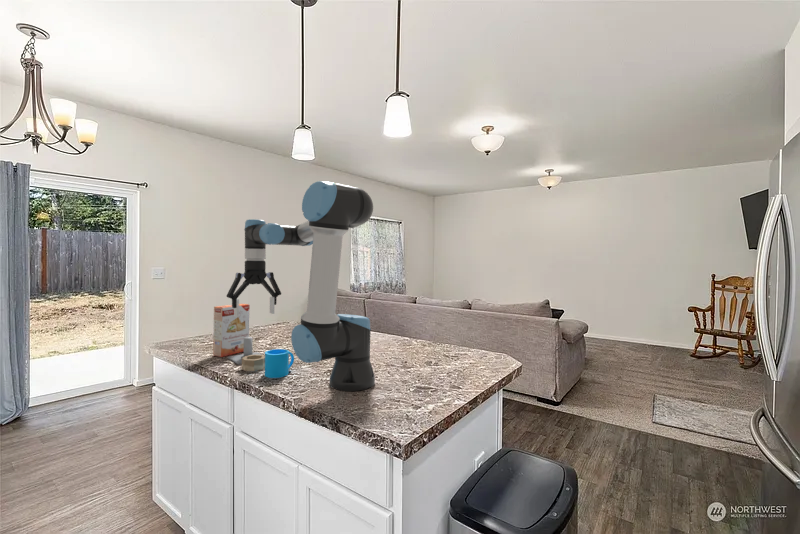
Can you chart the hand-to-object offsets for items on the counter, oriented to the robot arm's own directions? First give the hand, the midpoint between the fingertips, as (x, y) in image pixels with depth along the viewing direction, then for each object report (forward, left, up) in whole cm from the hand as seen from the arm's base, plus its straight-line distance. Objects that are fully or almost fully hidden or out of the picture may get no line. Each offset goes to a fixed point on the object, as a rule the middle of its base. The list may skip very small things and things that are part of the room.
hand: (254, 314), depth 144 cm
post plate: (+10, -1, -20) cm, 22 cm away
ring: (-4, +2, -20) cm, 20 cm away
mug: (-16, -3, -20) cm, 25 cm away
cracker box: (+23, +1, -20) cm, 31 cm away
